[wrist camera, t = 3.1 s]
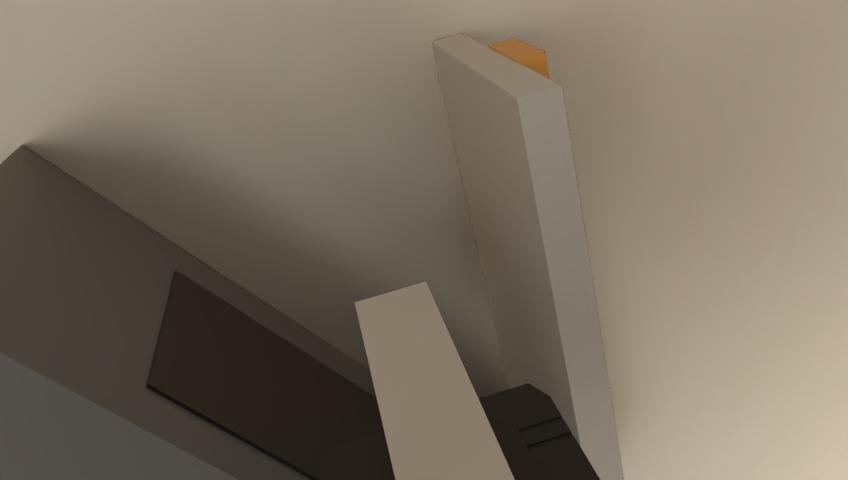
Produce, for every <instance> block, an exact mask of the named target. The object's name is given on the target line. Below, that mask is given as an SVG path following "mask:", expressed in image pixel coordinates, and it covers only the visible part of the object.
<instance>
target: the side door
mask: <svg viewBox="0 0 848 480" xmlns="http://www.w3.org/2000/svg"><path fill="white" fill-rule="evenodd" d="M431 43H432V47H433V52H434V56H435V61H436V65H437V70H438V74H439V79H440V83H441V87H442V92H443V96H444V101H445V105H446V110H447V114H448V119H449V123H450V128H451V132H452V137H453V141H454V145H455V150H456V154H457V159H458V163H459V168H460V172H461V177H462V181H463V186H464V190H465V195H466V199H467V203H468V208H469V212H470V217H471V221H472V226H473V230H474V235H475V239H476V244H477V248H478V253H479V257H480V261H481V266H482V270H483V275H484V279H485V284H486V288H487V293H488V297H489V302H490V306H491V311H492V315H493V319H494V324H495V328H496V333H497V337H498V342H499V346H500V351H501V355H502V360H503V364H504V368H505V373H506V377H507V382H508V386H509V389H511V388H515V387H518V386H521V385H524V384H527V383H529V384H531V385H532V386H534V387H536V388H537V389H539V390H540V391H542V392H544V393H545V394H547V395H549V396H550V397H551V399H552V400H553V402H554V404H555V405H556V407H557V409H558V410H559V412H560V414H561V415H562V418H563V420H565V422H566V424H567V425H568V427H569V429H570V430H571V432H572V435H573V436H574V437H575V439H576V440H577V442H578V444H579V445H580V447H581V448H582V450H583V452H584V453H585V455H586V457H587V458H588V460H589V462H590V463H591V465H592V467H593V468H594V470H595V472H596V473H597V475H598V477H599V478H600V480H624V477H623V470H622V464H621V458H620V451H619V445H618V439H617V432H616V426H615V420H614V413H613V407H612V401H611V394H610V388H609V382H608V375H607V369H606V362H605V356H604V350H603V343H602V337H601V331H600V324H599V318H598V312H597V305H596V299H595V293H594V286H593V280H592V274H591V267H590V261H589V255H588V248H587V242H586V235H585V229H584V223H583V216H582V210H581V204H580V197H579V191H578V185H577V178H576V172H575V166H574V159H573V153H572V147H571V140H570V134H569V127H568V121H567V115H566V108H565V102H564V96H563V89H562V86H561V85H559V84H558V83H556V82H554V81H552V80H550V79H549V75H548V69H547V63H546V57H545V51H542V50H540V49H538V48H535V47H533V46H531V45H529V44H526V43H524V42H522V41H519V40H517V39H515V38H513V39H509V40H506V41H502V42H499V43H495V44H491V45H488V46H489V47H487V46H485V45H483V44H481V43H479V42H477V41H475V40H473V39H472V38H470V37H468V36H466V35H464V34H462V33H461V34H457V35H454V36H450V37H447V38H443V39H439V40H436V41H432V42H431Z"/></svg>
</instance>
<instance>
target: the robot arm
mask: <svg viewBox="0 0 848 480" xmlns="http://www.w3.org/2000/svg"><path fill="white" fill-rule="evenodd" d="M355 306H356V311H357V315H358V320H359V324H360V328H361V333H362V337H363V341H364V346H365V350H366V354H367V359H368V363H369V367H370V372H371V376H372V380H373V385H374V389H375V393H376V398H377V402H378V406H379V411H380V415H381V419H382V424H383V428H384V431H381V432H378V433H375V434H371V435H368V436H365V437H362V438H359V439H355V440H352V441H349V442H346V443H343V444H339V445H336V446H333V447H330V448H329V450H328V453H327V455H326V457H325V460H324V462H323V464H322V467H321V469H320V480H600V478H599V477H598V475H597V473H596V472H595V470H594V468H593V467H592V465H591V463H590V462H589V460H588V458H587V457H586V455H585V453H584V452H583V450H582V448H581V447H580V445H579V444H578V442H577V440H576V439H575V437H574V436H573V435H572V432H571V430H570V429H569V427H568V425H567V424H566V422H565V420H563V418H562V415H561V414H560V412H559V410H558V409H557V407H556V405H555V404H554V402H553V400H552V399H551V397H550V396H549V395H547V394H545V393H544V392H542V391H540V390H539V389H537V388H536V387H534V386H532V385H531V384H529V383H527V384H524V385H521V386H518V387H515V388H511V389H508V390H505V391H502V392H499V393H495V394H492V395H489V396H486V397H483V398H479V399H478V396H477V394H476V392H475V390H474V388H473V385H472V383H471V381H470V379H469V376H468V374H467V372H466V370H465V367H464V365H463V363H462V361H461V358H460V356H459V354H458V352H457V350H456V347H455V345H454V343H453V341H452V338H451V336H450V334H449V332H448V329H447V327H446V325H445V323H444V320H443V318H442V316H441V314H440V312H439V309H438V307H437V305H436V303H435V300H434V298H433V296H432V294H431V291H430V289H429V287H428V285H427V283H426V281H425V282H421V283H418V284H415V285H411V286H408V287H405V288H401V289H398V290H395V291H391V292H388V293H384V294H381V295H378V296H374V297H371V298H368V299H364V300H361V301H358V302H355Z"/></svg>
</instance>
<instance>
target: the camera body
mask: <svg viewBox="0 0 848 480" xmlns="http://www.w3.org/2000/svg"><path fill="white" fill-rule="evenodd" d="M381 431H384V428H383V424H382V419H381V415H380V411H379V406H378V402H377V398H376V393H375V389H374V385H373V380H372V376H371V372H370V371H369V370H367V369H366V368H364V367H363V366H361V365H360V364H358V363H356V362H355V361H353V360H352V359H350V358H349V357H347V356H346V355H344V354H343V353H341V352H340V351H338V350H336V349H335V348H333V347H332V346H330V345H329V344H327V343H326V342H324V341H323V340H321V339H320V338H318V337H316V336H315V335H313V334H312V333H310V332H309V331H307V330H306V329H304V328H303V327H301V326H300V325H298V324H297V323H295V322H293V321H292V320H290V319H289V318H287V317H286V316H284V315H283V314H281V313H280V312H278V311H277V310H275V309H273V308H272V307H270V306H269V305H267V304H266V303H264V302H263V301H261V300H260V299H258V298H257V297H255V296H254V295H252V294H250V293H249V292H247V291H246V290H244V289H243V288H241V287H240V286H238V285H237V284H235V283H234V282H232V281H230V280H229V279H227V278H226V277H224V276H223V275H221V274H220V273H218V272H217V271H215V270H214V269H212V268H211V267H209V266H207V265H206V264H204V263H203V262H201V261H200V260H198V259H197V258H195V257H194V256H192V255H191V254H189V253H187V252H186V251H184V250H183V249H181V248H180V247H178V246H177V245H175V244H174V243H172V242H171V241H169V240H167V239H166V238H164V237H163V236H161V235H160V234H158V233H157V232H155V231H154V230H152V229H151V228H149V227H148V226H146V225H144V224H143V223H141V222H140V221H138V220H137V219H135V218H134V217H132V216H131V215H129V214H128V213H126V212H124V211H123V210H121V209H120V208H118V207H117V206H115V205H114V204H112V203H111V202H109V201H108V200H106V199H105V198H103V197H101V196H100V195H98V194H97V193H95V192H94V191H92V190H91V189H89V188H88V187H86V186H85V185H83V184H81V183H80V182H78V181H77V180H75V179H74V178H72V177H71V176H69V175H68V174H66V173H65V172H63V171H62V170H60V169H58V168H57V167H55V166H54V165H52V164H51V163H49V162H48V161H46V160H45V159H43V158H42V157H40V156H38V155H37V154H35V153H34V152H32V151H31V150H29V149H28V148H26V147H25V146H23V145H21V146H20V147H19V148H18V149H17V150H16V151H15V152H14V153H12V154H11V155H10V156H9V157H8V158H7V159H6V160H5V161H4V162H3V163H2V164H0V480H320V469H321V467H322V464H323V462H324V460H325V457H326V455H327V453H328V450H329V448H330V447H333V446H336V445H339V444H343V443H346V442H349V441H352V440H355V439H359V438H362V437H365V436H368V435H371V434H375V433H378V432H381Z"/></svg>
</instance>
